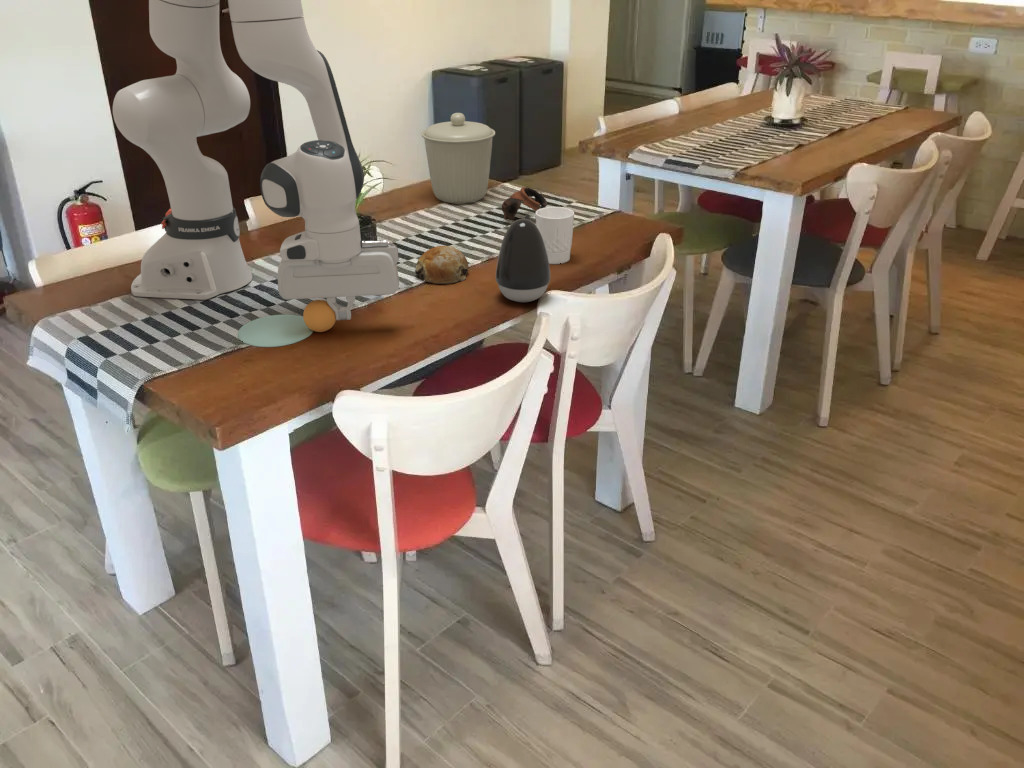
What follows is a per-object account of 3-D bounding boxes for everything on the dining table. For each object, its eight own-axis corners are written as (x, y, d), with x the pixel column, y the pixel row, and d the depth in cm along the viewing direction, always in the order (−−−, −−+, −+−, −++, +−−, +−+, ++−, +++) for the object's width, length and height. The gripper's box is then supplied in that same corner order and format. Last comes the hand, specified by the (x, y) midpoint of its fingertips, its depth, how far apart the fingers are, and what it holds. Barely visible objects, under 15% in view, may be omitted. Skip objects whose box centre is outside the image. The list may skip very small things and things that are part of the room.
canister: (471, 213, 212) (468, 124, 202) (410, 202, 220) (405, 115, 210) (509, 194, 225) (508, 110, 215) (450, 184, 233) (447, 102, 223)
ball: (322, 343, 152) (293, 325, 150) (328, 328, 156) (301, 310, 155) (339, 321, 149) (310, 302, 147) (345, 306, 154) (317, 288, 152)
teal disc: (230, 348, 147) (230, 347, 147) (246, 316, 158) (246, 315, 158) (309, 345, 148) (309, 344, 148) (319, 314, 159) (318, 313, 159)
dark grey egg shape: (553, 288, 170) (554, 211, 163) (546, 309, 161) (547, 229, 154) (501, 285, 171) (500, 209, 164) (491, 306, 162) (490, 226, 155)
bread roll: (452, 303, 173) (467, 270, 169) (405, 279, 172) (420, 245, 168) (464, 285, 181) (479, 252, 177) (420, 262, 181) (434, 229, 177)
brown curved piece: (515, 211, 214) (532, 183, 210) (540, 236, 211) (558, 208, 207) (485, 211, 205) (502, 181, 201) (510, 236, 202) (529, 207, 197)
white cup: (578, 263, 182) (579, 216, 177) (541, 267, 180) (542, 220, 175) (565, 250, 188) (566, 205, 184) (530, 254, 186) (530, 208, 182)
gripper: (397, 233, 149) (404, 308, 156) (276, 239, 148) (288, 314, 155) (396, 245, 144) (403, 322, 150) (269, 251, 143) (282, 329, 149)
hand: (343, 318), depth 152 cm, fingers closed
